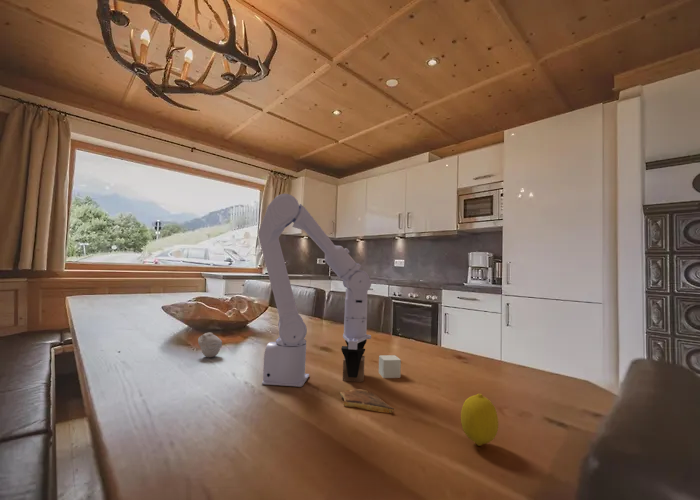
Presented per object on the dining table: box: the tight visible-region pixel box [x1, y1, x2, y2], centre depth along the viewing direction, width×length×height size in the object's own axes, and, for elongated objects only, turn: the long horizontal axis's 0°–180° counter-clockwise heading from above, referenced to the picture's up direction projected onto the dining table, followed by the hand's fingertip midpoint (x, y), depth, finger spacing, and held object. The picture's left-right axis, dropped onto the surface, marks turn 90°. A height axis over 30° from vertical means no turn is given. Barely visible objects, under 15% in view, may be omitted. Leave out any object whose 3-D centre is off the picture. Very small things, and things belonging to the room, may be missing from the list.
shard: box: [339, 388, 395, 414], centre depth 65 cm, size 11×8×2 cm
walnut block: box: [342, 355, 366, 383], centre depth 81 cm, size 5×5×5 cm
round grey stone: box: [197, 332, 223, 358], centre depth 95 cm, size 6×7×7 cm
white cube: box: [378, 354, 402, 379], centre depth 84 cm, size 4×4×4 cm
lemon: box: [460, 393, 499, 447], centre depth 52 cm, size 6×6×8 cm
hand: (353, 371), depth 81 cm, fingers open, 7 cm apart
